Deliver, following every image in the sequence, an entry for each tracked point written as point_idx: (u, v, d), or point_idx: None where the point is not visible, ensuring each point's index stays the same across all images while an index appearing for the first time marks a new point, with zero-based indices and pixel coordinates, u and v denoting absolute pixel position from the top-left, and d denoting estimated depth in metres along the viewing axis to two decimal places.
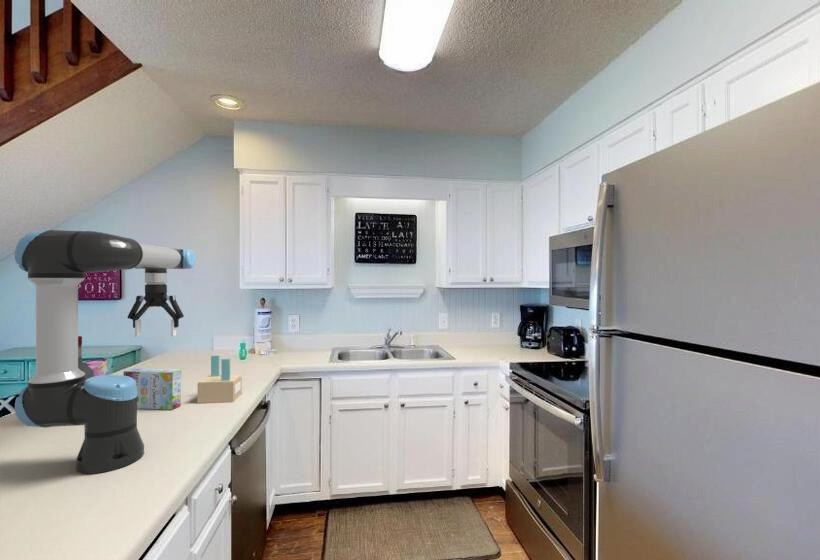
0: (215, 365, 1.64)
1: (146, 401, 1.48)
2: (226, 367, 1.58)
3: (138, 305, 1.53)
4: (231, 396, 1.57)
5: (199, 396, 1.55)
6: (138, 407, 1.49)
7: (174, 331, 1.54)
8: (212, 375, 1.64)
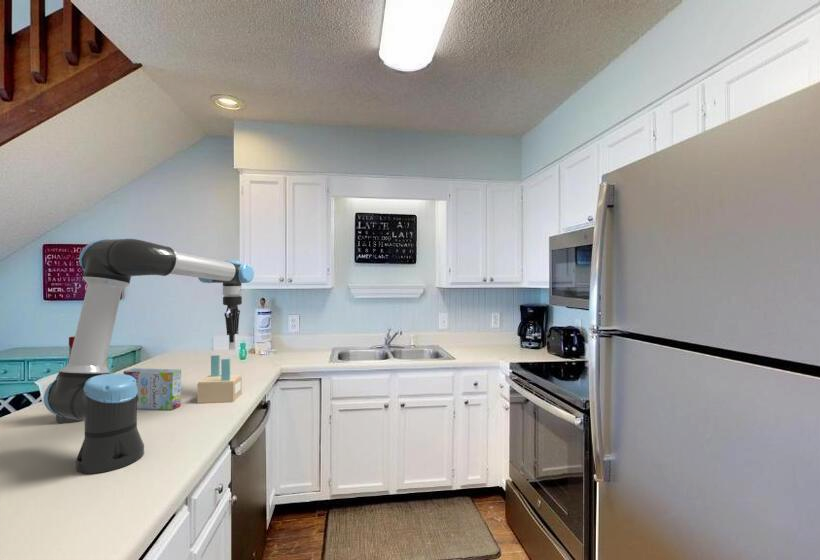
0: (215, 365, 1.64)
1: (146, 401, 1.48)
2: (226, 367, 1.58)
3: None
4: (231, 396, 1.57)
5: (199, 396, 1.55)
6: (138, 407, 1.49)
7: (231, 345, 1.65)
8: (212, 375, 1.64)
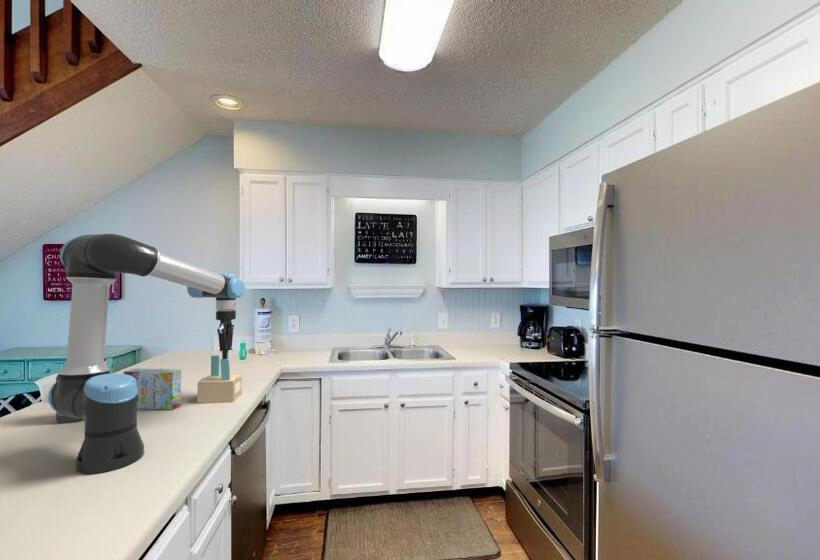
0: (215, 365, 1.64)
1: (146, 401, 1.48)
2: (225, 367, 1.57)
3: None
4: (231, 396, 1.57)
5: (199, 396, 1.55)
6: (138, 407, 1.49)
7: None
8: (212, 375, 1.64)
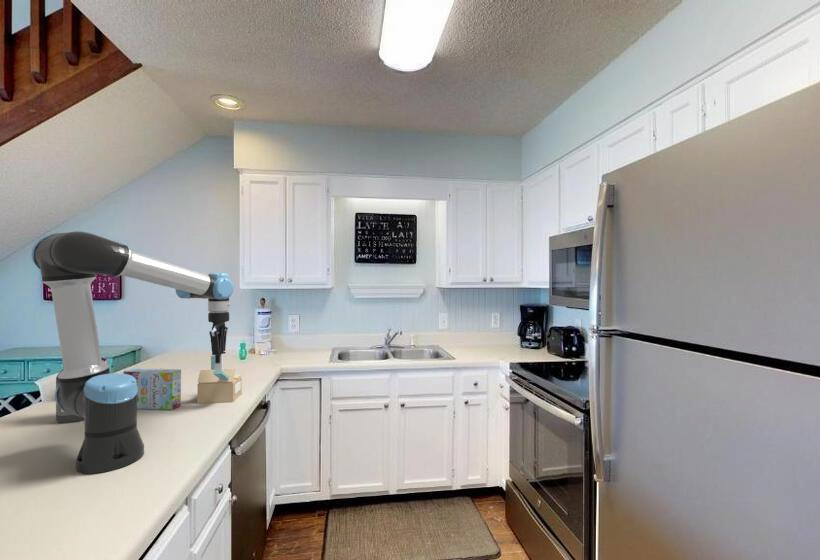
0: None
1: (146, 401, 1.48)
2: (221, 376, 1.52)
3: None
4: (231, 396, 1.57)
5: (199, 396, 1.55)
6: (138, 407, 1.49)
7: (217, 367, 1.50)
8: None
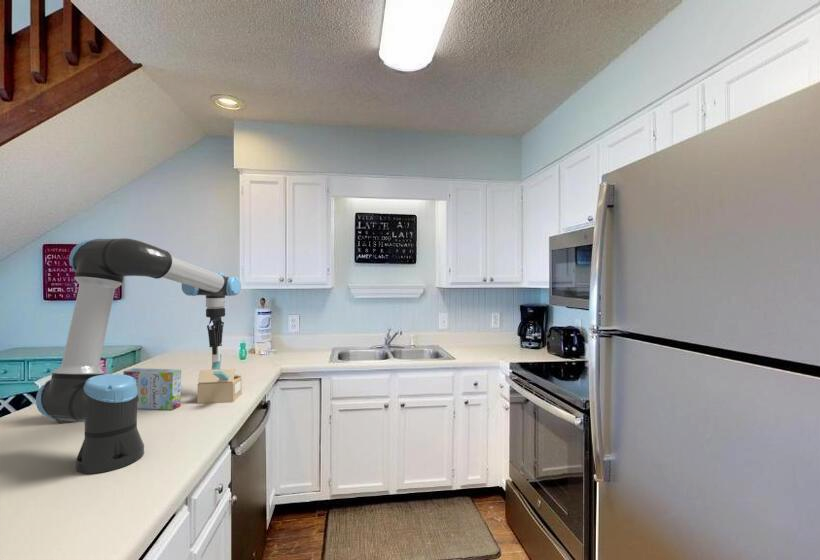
0: (216, 364, 1.66)
1: (146, 401, 1.48)
2: (221, 376, 1.52)
3: None
4: (231, 396, 1.57)
5: (199, 396, 1.55)
6: (138, 407, 1.49)
7: (214, 358, 1.65)
8: None
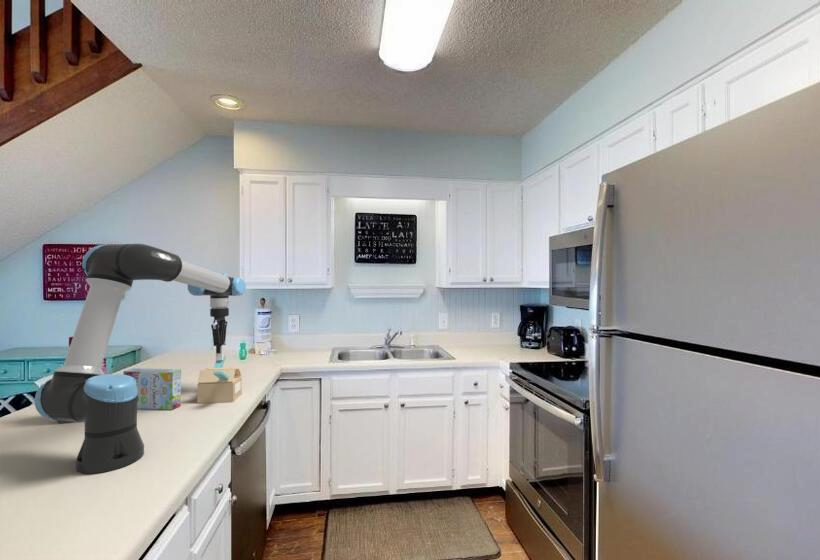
0: (219, 363, 1.69)
1: (146, 401, 1.48)
2: (221, 376, 1.52)
3: None
4: (231, 396, 1.57)
5: (199, 396, 1.55)
6: (138, 407, 1.49)
7: (218, 356, 1.69)
8: None
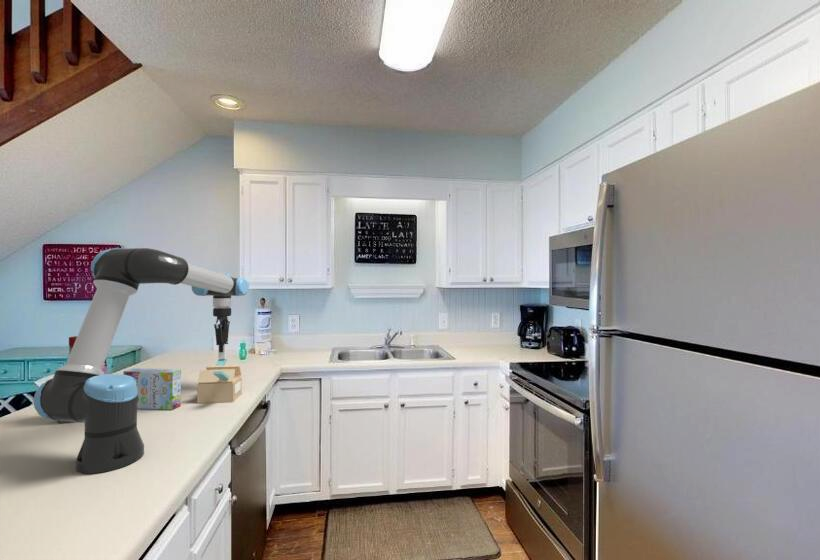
0: (219, 364, 1.70)
1: (146, 401, 1.48)
2: (221, 376, 1.52)
3: None
4: (231, 396, 1.57)
5: (199, 396, 1.55)
6: (138, 407, 1.49)
7: (220, 355, 1.72)
8: None
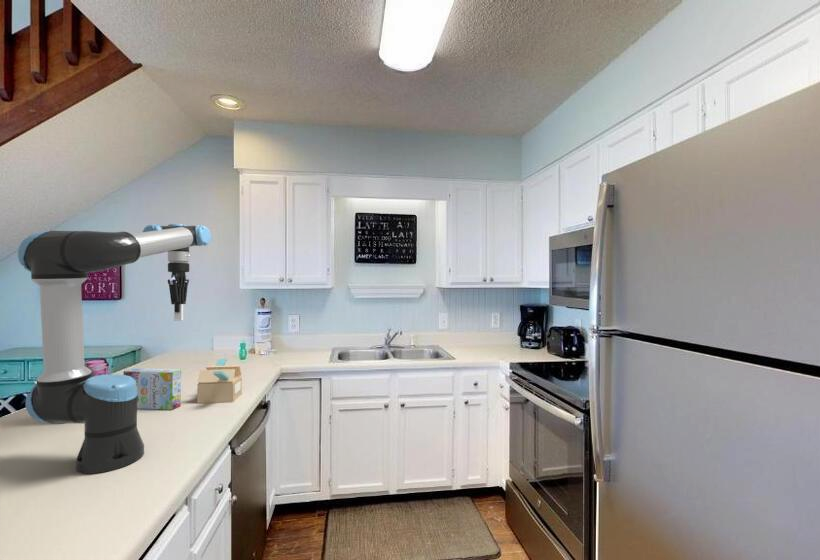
0: (219, 364, 1.70)
1: (146, 401, 1.48)
2: (221, 376, 1.52)
3: None
4: (231, 396, 1.57)
5: (199, 396, 1.55)
6: (138, 407, 1.49)
7: (177, 316, 1.53)
8: None
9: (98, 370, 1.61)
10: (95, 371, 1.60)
